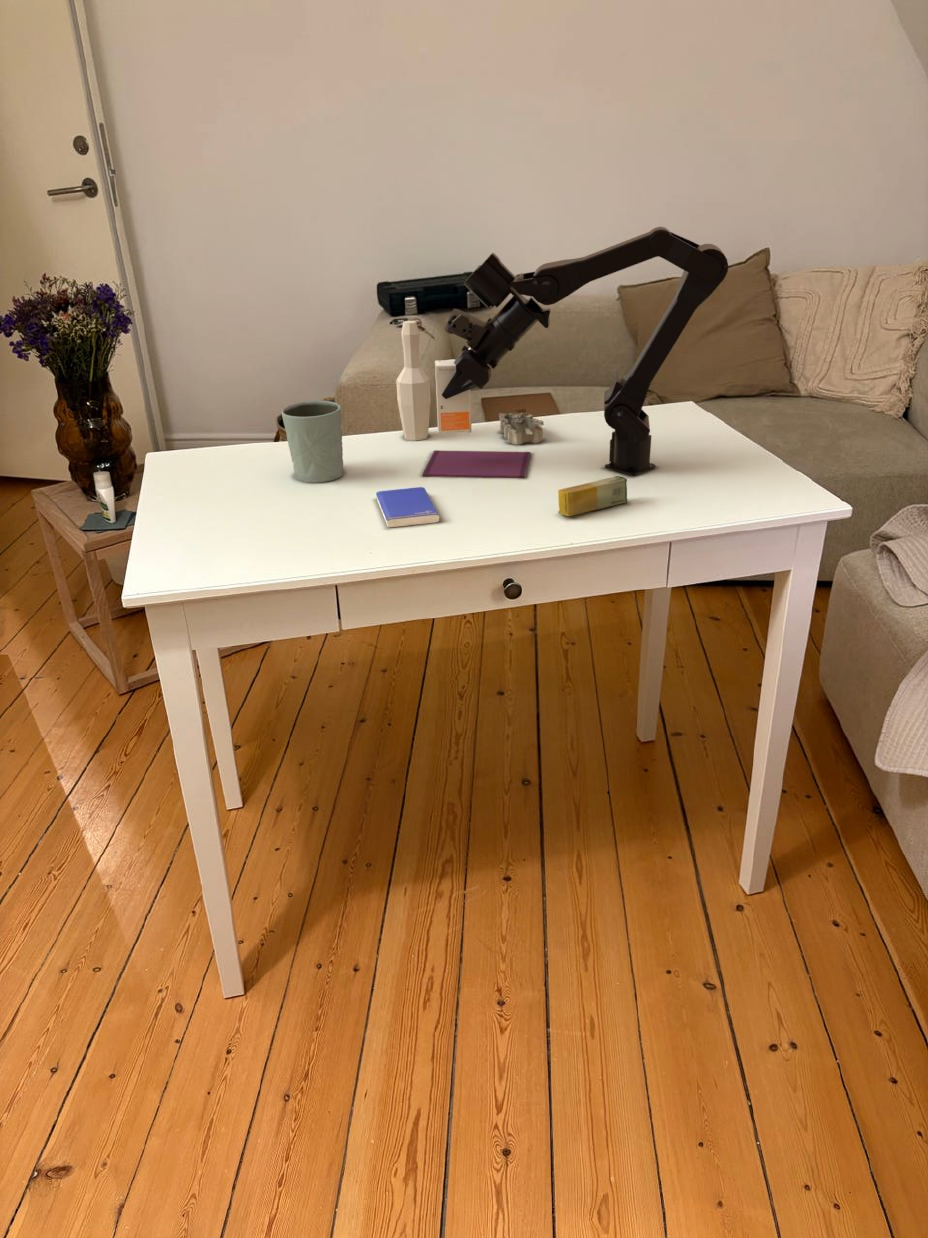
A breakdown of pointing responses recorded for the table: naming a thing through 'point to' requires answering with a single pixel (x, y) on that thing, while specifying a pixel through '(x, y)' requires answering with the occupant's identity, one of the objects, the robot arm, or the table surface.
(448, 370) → the cosmetic box
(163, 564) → the table surface
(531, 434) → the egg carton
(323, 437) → the green plant pot
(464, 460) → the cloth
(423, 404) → the faceted bottle
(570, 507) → the medication box
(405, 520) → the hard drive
